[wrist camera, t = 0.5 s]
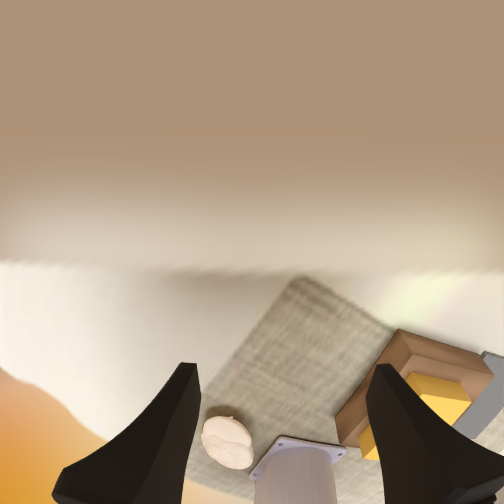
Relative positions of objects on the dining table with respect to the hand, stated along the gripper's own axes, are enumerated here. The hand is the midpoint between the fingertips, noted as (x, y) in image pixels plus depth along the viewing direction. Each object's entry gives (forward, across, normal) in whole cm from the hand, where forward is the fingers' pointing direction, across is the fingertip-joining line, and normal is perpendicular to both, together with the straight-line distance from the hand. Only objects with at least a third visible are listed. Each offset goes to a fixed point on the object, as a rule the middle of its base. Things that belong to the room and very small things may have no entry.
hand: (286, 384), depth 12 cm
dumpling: (+10, +4, +18) cm, 21 cm away
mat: (+10, -24, +16) cm, 31 cm away
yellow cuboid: (+5, -12, +12) cm, 17 cm away
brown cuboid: (+10, -13, +13) cm, 21 cm away
